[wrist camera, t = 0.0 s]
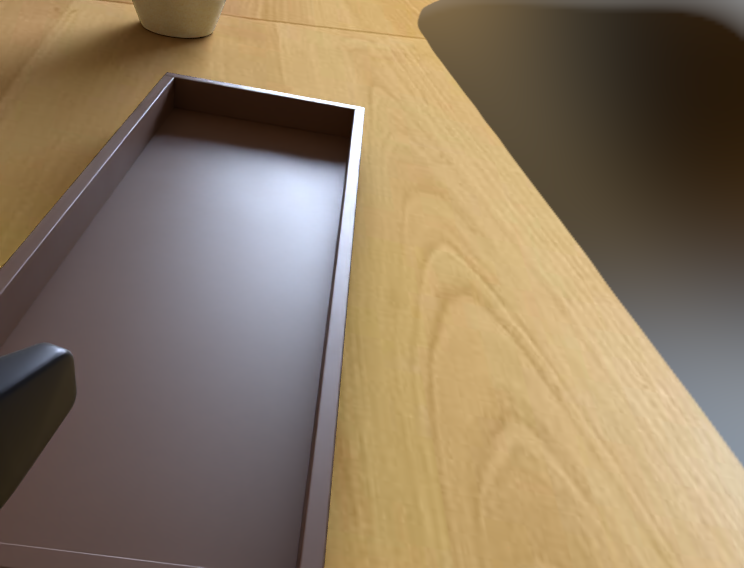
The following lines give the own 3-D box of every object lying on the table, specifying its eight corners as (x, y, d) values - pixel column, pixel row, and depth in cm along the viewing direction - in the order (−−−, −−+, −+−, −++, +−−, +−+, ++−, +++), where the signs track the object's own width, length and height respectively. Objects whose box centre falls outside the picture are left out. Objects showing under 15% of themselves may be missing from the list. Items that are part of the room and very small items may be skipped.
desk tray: (308, 658, 22) (321, 605, 21) (-198, 600, 21) (-230, 540, 19) (358, 143, 57) (364, 107, 55) (166, 109, 55) (166, 71, 54)
